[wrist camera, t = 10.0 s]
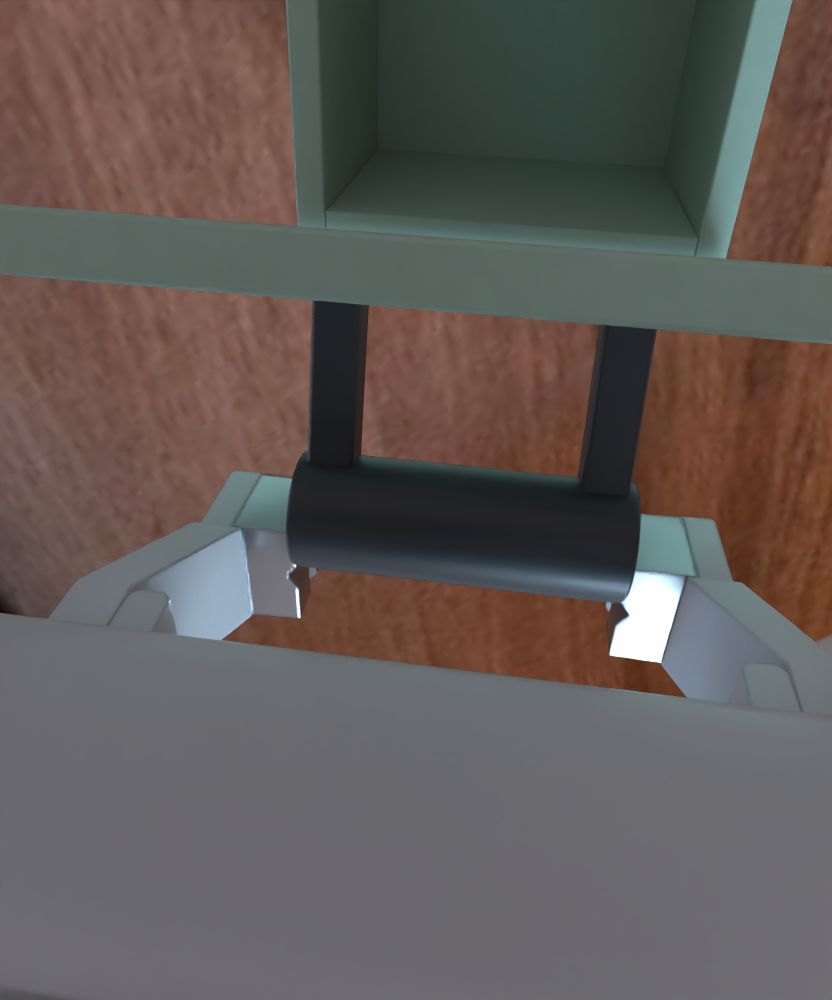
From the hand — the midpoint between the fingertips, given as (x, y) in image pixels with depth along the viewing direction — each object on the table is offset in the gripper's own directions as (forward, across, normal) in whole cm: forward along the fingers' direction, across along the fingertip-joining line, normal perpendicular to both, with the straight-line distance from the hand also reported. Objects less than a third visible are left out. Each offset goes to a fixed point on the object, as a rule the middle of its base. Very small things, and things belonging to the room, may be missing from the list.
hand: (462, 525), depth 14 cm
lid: (+5, 0, -3) cm, 6 cm away
